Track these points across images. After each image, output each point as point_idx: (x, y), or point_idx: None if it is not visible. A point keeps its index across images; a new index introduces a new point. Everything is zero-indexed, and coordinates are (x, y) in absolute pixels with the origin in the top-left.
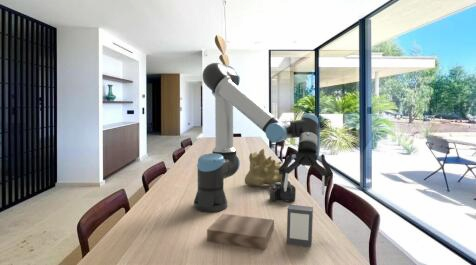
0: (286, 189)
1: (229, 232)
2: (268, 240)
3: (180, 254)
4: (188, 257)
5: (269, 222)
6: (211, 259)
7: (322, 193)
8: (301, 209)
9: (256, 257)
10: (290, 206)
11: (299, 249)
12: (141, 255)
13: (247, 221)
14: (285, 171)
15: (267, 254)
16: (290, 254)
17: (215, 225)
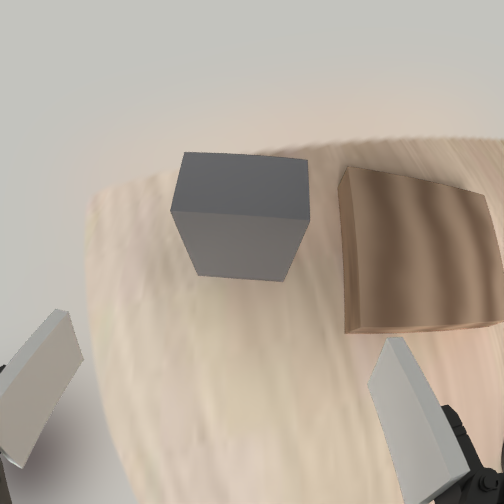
0: (373, 394)
1: (440, 184)
2: (343, 232)
3: (464, 154)
4: (449, 145)
5: (371, 291)
6: (416, 140)
7: (73, 342)
8: (237, 161)
9: (344, 152)
10: (298, 190)
11: None
12: (495, 150)
13: (439, 275)
14: (478, 488)
15: (324, 167)
16: None
17: (485, 222)
